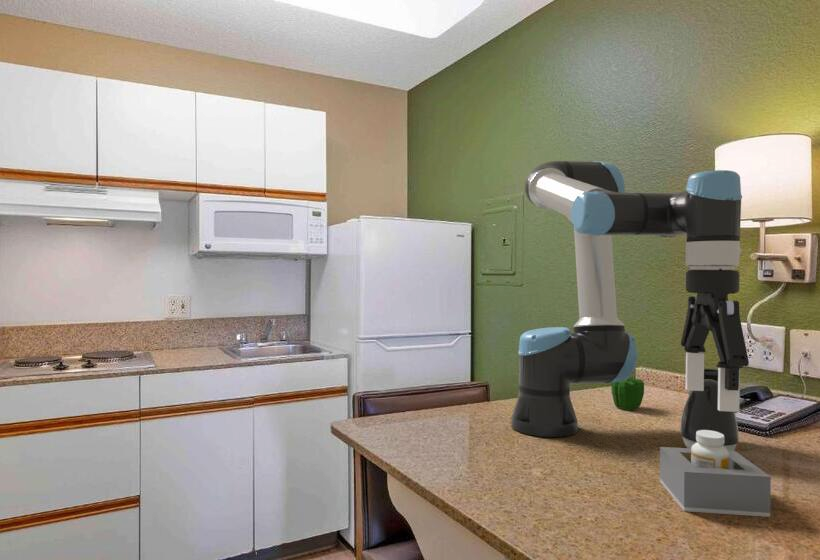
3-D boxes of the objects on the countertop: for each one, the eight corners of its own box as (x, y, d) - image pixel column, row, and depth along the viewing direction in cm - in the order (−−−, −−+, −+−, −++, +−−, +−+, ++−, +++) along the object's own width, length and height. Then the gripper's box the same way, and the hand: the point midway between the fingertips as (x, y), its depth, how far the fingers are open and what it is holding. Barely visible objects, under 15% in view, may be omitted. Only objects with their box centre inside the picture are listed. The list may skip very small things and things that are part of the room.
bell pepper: (615, 403, 150) (615, 367, 150) (646, 407, 145) (646, 370, 145) (606, 409, 143) (607, 372, 143) (639, 413, 138) (639, 375, 138)
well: (684, 511, 81) (684, 471, 81) (659, 481, 93) (660, 446, 93) (770, 516, 79) (770, 476, 79) (734, 485, 91) (734, 450, 91)
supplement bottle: (699, 499, 84) (700, 439, 84) (685, 484, 89) (685, 428, 89) (735, 499, 84) (735, 439, 83) (718, 485, 89) (718, 428, 88)
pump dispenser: (739, 468, 99) (740, 386, 99) (677, 457, 105) (678, 380, 105) (740, 452, 108) (740, 378, 108) (682, 444, 113) (683, 372, 113)
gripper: (778, 268, 73) (775, 422, 73) (706, 268, 97) (704, 384, 98) (719, 268, 74) (717, 420, 74) (663, 268, 99) (661, 382, 99)
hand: (710, 400), depth 86 cm, fingers open, 13 cm apart
